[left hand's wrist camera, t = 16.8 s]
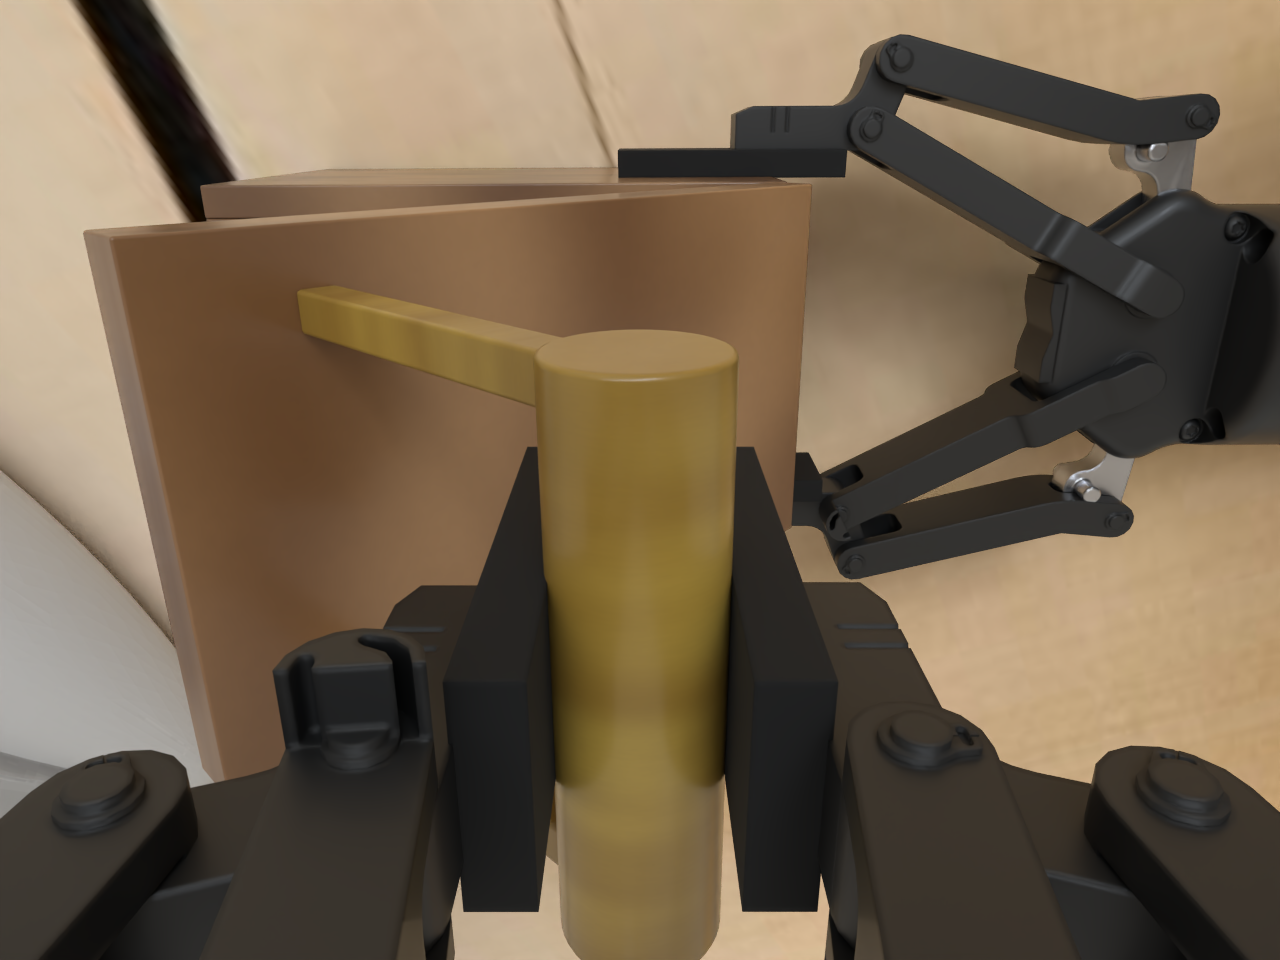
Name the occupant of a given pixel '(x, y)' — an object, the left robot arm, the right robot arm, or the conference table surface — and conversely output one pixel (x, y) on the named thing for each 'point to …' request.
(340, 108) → the conference table surface
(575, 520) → the lid
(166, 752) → the projector
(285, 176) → the chest
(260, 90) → the conference table surface
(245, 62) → the conference table surface
